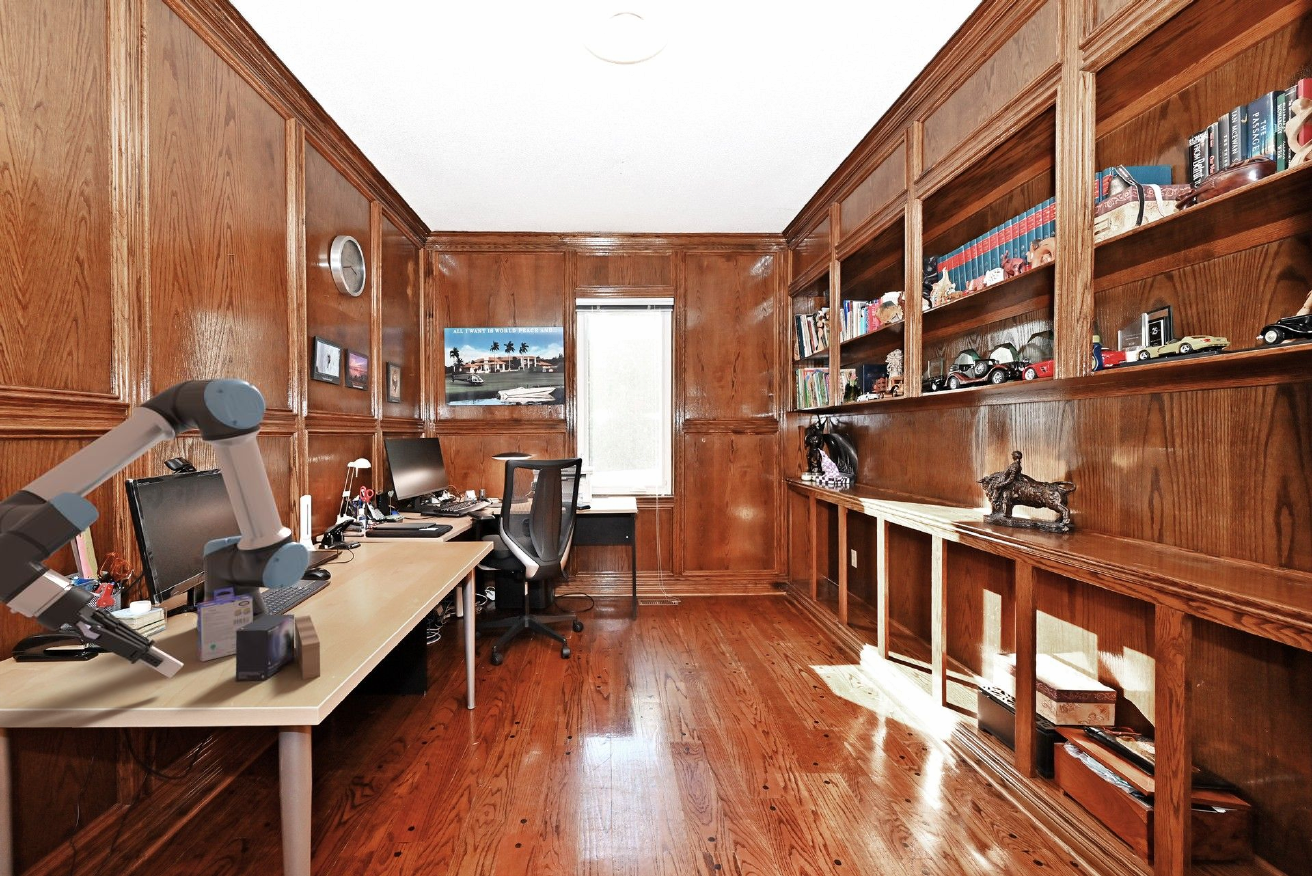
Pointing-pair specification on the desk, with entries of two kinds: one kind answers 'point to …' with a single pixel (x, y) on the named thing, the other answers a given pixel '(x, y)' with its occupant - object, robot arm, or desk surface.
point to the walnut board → (307, 647)
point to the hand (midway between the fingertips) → (176, 670)
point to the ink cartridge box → (222, 623)
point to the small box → (264, 647)
